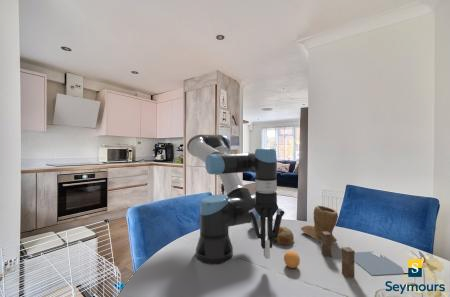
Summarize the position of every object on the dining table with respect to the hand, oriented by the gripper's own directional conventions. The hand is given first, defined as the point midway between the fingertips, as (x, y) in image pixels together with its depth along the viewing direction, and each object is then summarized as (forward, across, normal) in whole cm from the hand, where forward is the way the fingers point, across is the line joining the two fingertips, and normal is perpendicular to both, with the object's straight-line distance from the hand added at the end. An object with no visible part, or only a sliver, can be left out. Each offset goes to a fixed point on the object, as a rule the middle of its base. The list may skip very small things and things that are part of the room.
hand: (266, 256), depth 72 cm
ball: (+2, +9, 0) cm, 10 cm away
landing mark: (+5, +41, 0) cm, 42 cm away
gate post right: (+5, +26, -6) cm, 27 cm away
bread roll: (+5, +13, +20) cm, 25 cm away
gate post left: (+4, +26, +7) cm, 28 cm away
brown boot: (+5, +32, +21) cm, 39 cm away
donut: (+4, +3, +33) cm, 34 cm away
